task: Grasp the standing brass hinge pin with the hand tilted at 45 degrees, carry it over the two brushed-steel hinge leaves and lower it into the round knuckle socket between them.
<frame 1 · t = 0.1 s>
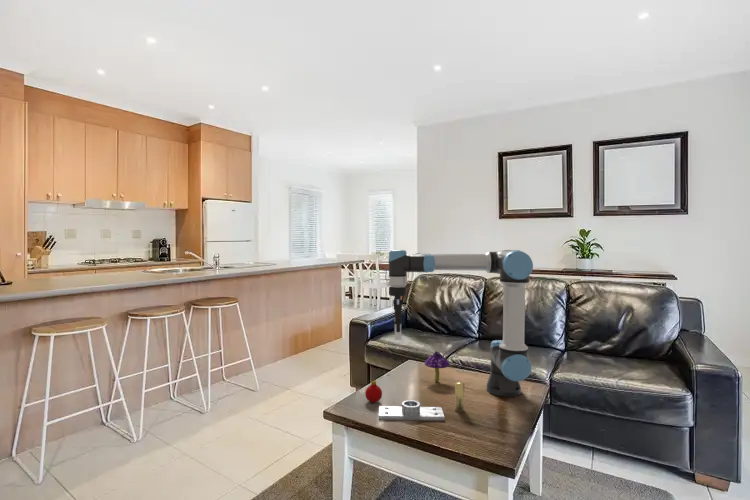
hand: (397, 335, 172), 28 cm above the table, tool pointing down, fingers open, 13 cm apart
christmas ornament: (373, 402, 172), on the table
decorative mushroom: (436, 382, 197), on the table
hinge leaves: (410, 415, 159), on the table
hinge pin: (459, 410, 164), on the table
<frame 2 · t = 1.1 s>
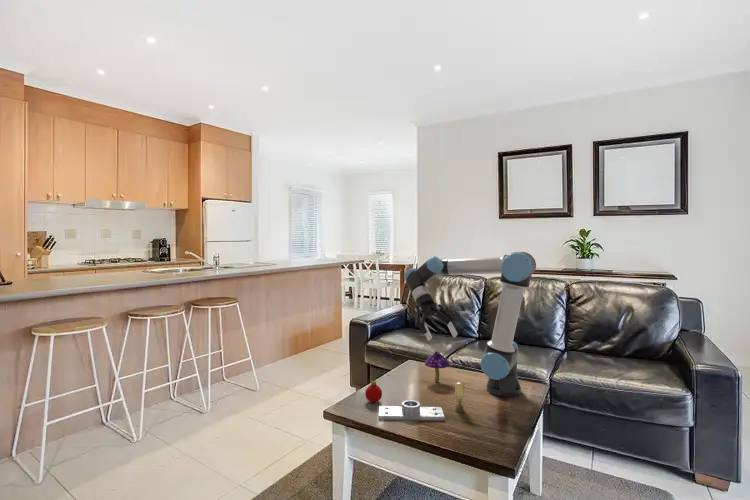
hand: (443, 337, 172), 27 cm above the table, tool tilted 45°, fingers open, 13 cm apart
nothing on the table moved.
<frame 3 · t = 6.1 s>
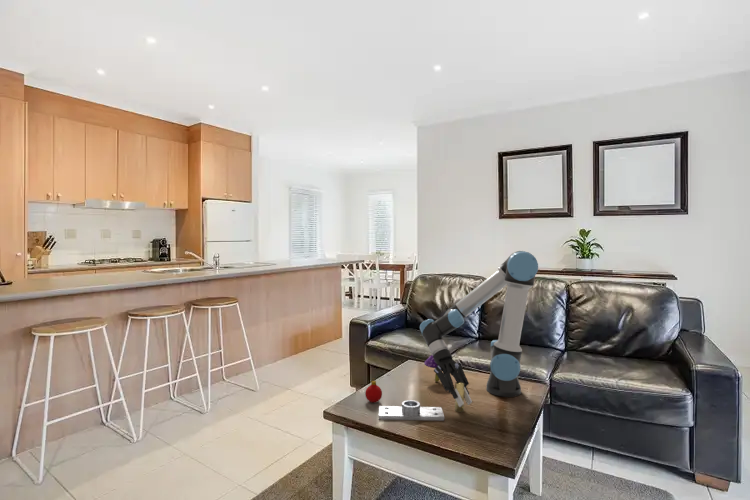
hand: (465, 404, 160), 4 cm above the table, tool tilted 45°, fingers closed on hinge pin, 3 cm apart
hinge pin: (459, 410, 164), on the table, touching gripper
everything else where it was.
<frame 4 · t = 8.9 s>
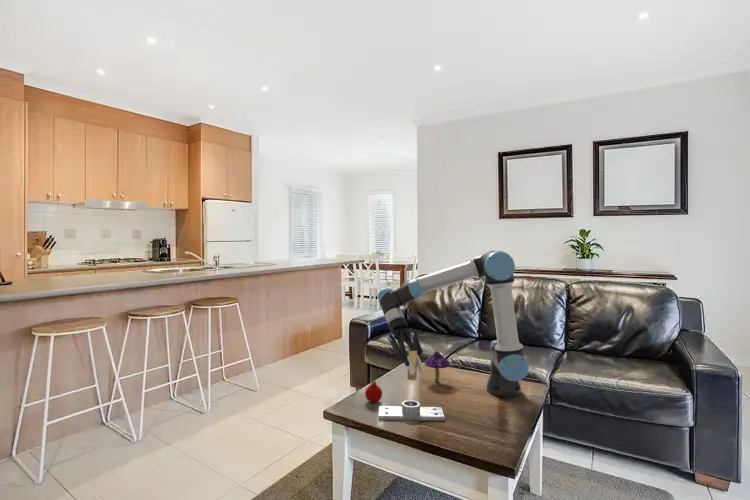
hand: (417, 372, 155), 18 cm above the table, tool tilted 45°, fingers closed on hinge pin, 3 cm apart
hinge pin: (412, 378, 159), point 14 cm above the table, touching gripper
everything else where it was.
when the fingers open (7 cm above the table, at t = 11.7 s): hinge pin drops 1 cm, resting on hinge leaves.
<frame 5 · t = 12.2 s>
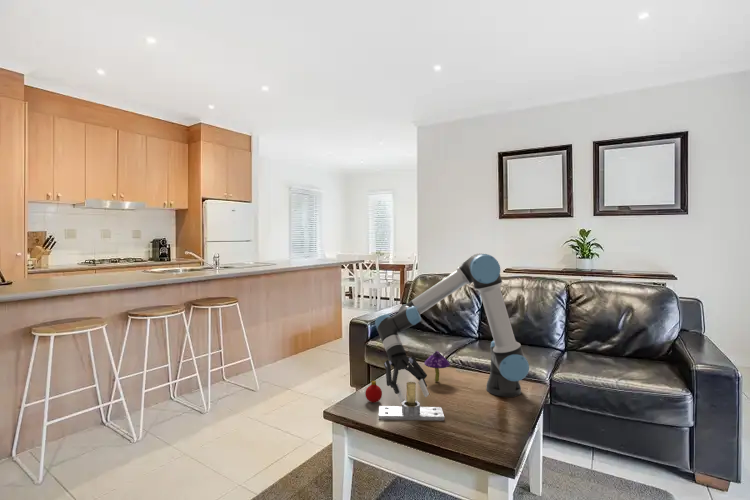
hand: (415, 398, 156), 8 cm above the table, tool tilted 45°, fingers open, 10 cm apart
hinge pin: (410, 411, 159), point 2 cm above the table, touching hinge leaves
everything else where it was.
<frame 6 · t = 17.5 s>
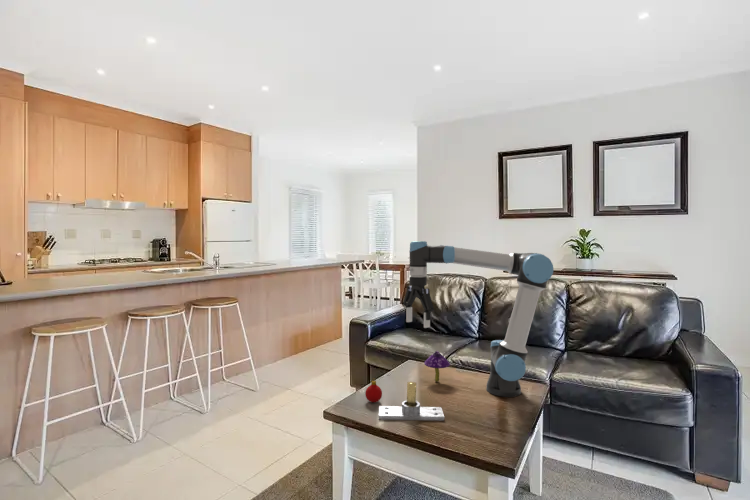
hand: (417, 324, 177), 32 cm above the table, tool pointing down, fingers open, 13 cm apart
nothing on the table moved.
at the end: hinge pin 0.1 cm off-centre on the hinge leaves, point 1.6 cm above the hinge leaves's base; hinge pin tilted 2°; the gripper is holding nothing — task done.
